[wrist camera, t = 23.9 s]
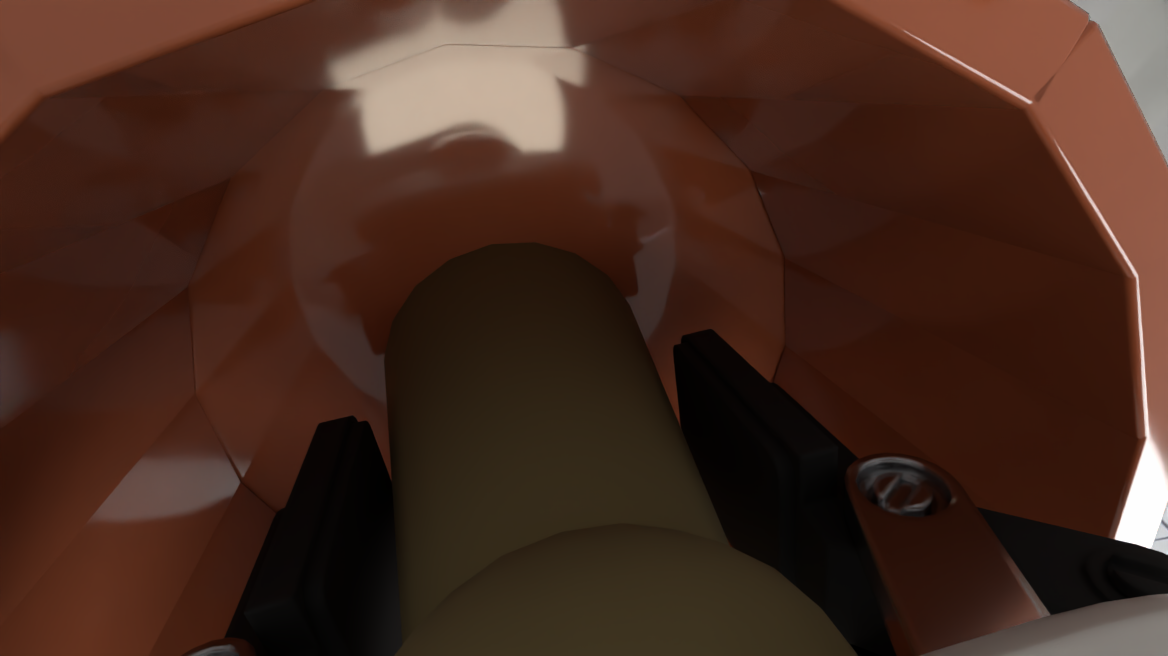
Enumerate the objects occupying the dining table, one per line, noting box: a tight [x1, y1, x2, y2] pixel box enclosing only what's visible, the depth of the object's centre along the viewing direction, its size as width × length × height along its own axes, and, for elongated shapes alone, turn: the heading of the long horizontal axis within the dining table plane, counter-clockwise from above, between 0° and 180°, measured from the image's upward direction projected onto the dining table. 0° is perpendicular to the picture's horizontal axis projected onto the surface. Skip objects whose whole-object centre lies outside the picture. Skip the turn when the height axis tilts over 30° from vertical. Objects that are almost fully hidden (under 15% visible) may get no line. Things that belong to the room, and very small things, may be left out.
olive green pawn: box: [384, 242, 858, 656], centre depth 9 cm, size 6×6×11 cm
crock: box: [0, 0, 1168, 656], centre depth 10 cm, size 15×15×8 cm
